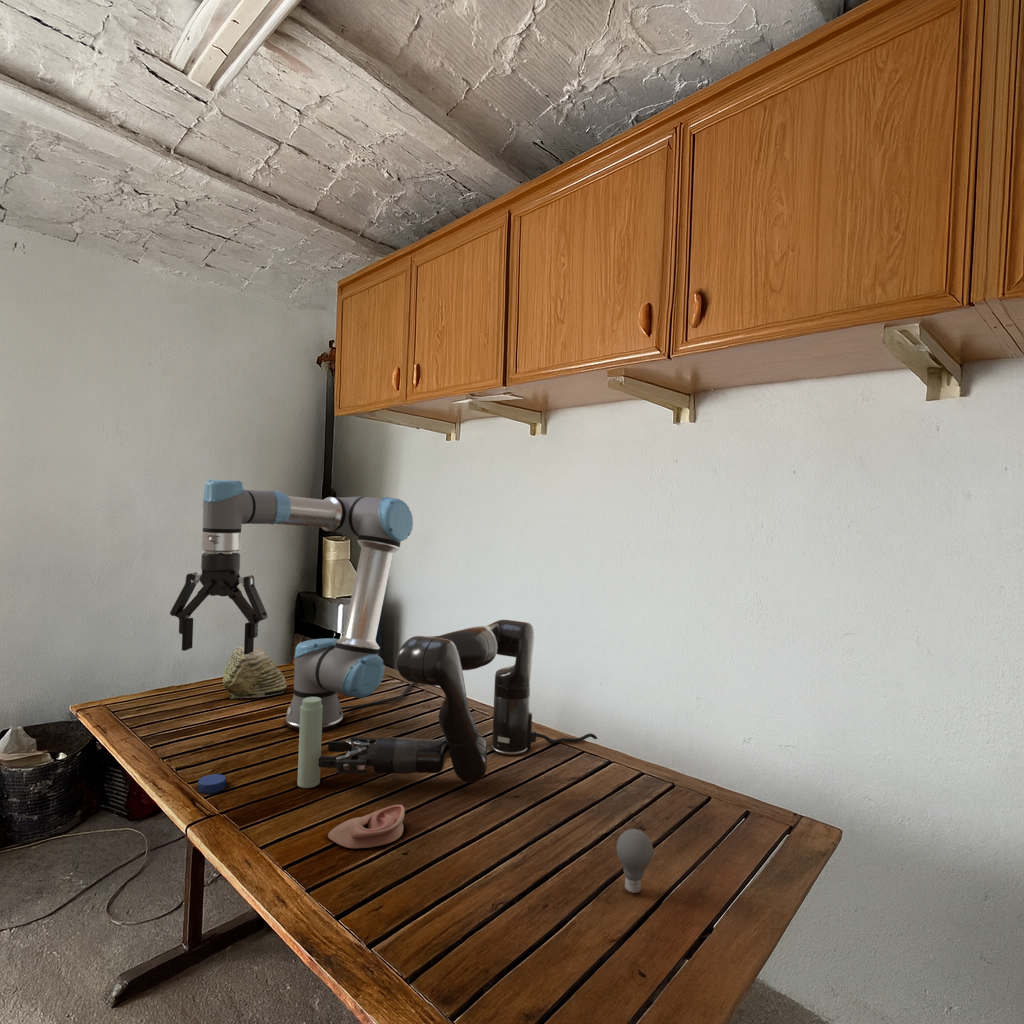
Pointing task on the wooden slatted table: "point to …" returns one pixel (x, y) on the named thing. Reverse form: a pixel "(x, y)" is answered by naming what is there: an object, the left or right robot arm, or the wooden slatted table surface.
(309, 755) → the jar
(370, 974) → the wooden slatted table surface
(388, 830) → the anatomical model
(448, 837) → the wooden slatted table surface
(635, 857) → the light bulb
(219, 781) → the lid
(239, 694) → the fossil
